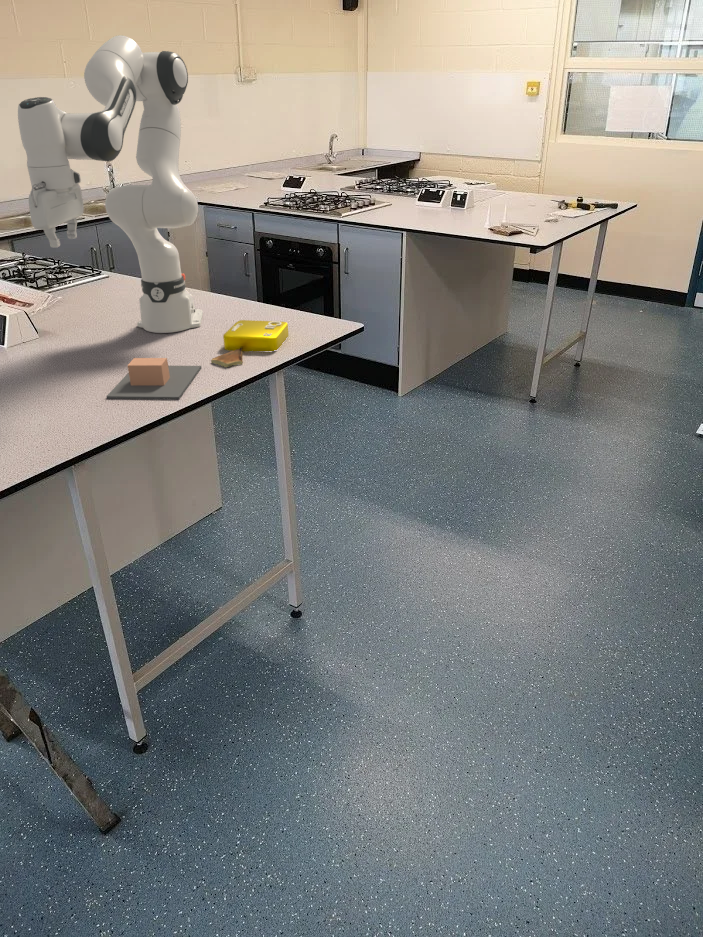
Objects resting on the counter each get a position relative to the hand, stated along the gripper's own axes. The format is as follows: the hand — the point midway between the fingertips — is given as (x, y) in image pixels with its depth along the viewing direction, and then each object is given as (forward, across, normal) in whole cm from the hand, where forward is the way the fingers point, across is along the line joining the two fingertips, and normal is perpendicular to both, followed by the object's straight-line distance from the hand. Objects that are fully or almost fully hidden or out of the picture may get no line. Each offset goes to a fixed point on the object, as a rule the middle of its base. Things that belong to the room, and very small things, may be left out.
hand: (64, 242), depth 168 cm
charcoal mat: (+31, -9, -20) cm, 38 cm away
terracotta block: (+28, -10, -15) cm, 33 cm away
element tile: (+32, +21, -39) cm, 55 cm away
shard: (+32, +7, -34) cm, 47 cm away
